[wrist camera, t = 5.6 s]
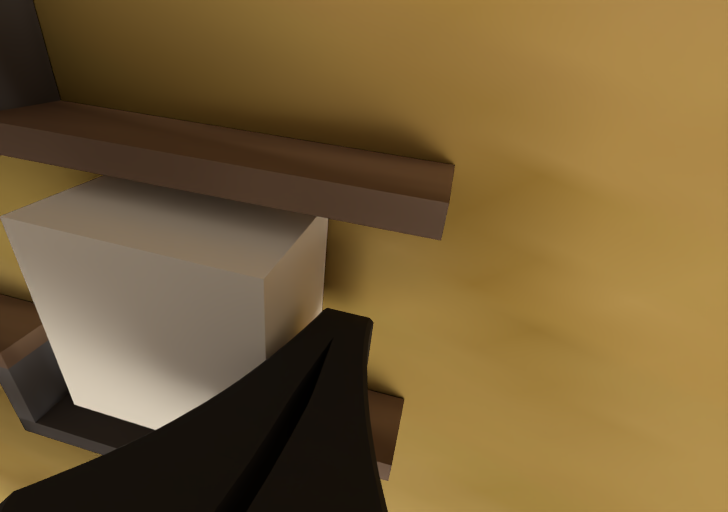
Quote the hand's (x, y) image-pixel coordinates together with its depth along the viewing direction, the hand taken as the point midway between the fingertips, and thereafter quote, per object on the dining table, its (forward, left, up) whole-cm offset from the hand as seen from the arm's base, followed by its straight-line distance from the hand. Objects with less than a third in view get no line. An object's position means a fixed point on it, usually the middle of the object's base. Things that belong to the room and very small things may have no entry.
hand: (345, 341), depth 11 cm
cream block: (0, +4, -2) cm, 5 cm away
